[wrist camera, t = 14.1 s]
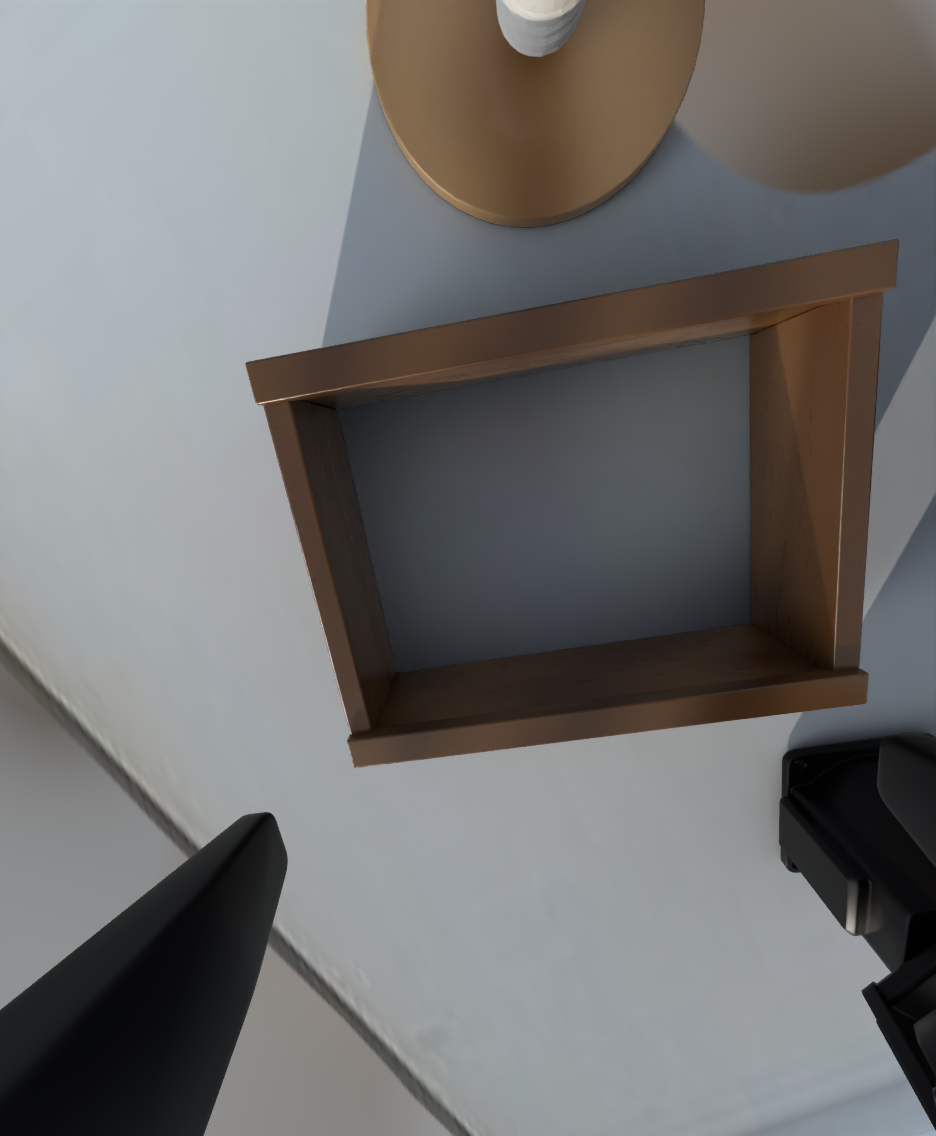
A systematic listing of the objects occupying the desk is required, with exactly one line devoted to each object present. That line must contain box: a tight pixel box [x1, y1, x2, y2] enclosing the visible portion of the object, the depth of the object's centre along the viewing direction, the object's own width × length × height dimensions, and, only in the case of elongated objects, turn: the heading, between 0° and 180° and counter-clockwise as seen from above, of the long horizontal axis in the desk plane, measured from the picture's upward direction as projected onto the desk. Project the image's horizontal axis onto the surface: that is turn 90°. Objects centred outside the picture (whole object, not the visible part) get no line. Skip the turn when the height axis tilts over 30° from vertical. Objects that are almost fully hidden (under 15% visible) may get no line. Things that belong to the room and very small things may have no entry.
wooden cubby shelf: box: [246, 239, 899, 768], centre depth 15 cm, size 17×13×5 cm
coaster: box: [366, 0, 705, 227], centre depth 13 cm, size 10×10×1 cm
